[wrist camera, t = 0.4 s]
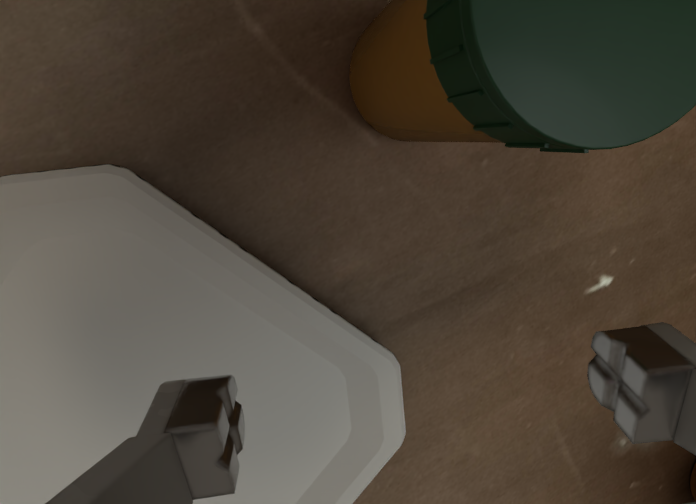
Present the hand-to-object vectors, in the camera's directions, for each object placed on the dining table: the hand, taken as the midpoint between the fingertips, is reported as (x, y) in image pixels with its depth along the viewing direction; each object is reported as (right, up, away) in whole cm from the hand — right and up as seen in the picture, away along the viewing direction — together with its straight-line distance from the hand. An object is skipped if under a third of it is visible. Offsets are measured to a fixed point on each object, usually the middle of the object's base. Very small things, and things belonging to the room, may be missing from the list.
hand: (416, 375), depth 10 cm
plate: (-11, -6, +12) cm, 17 cm away
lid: (+3, +8, -2) cm, 9 cm away
